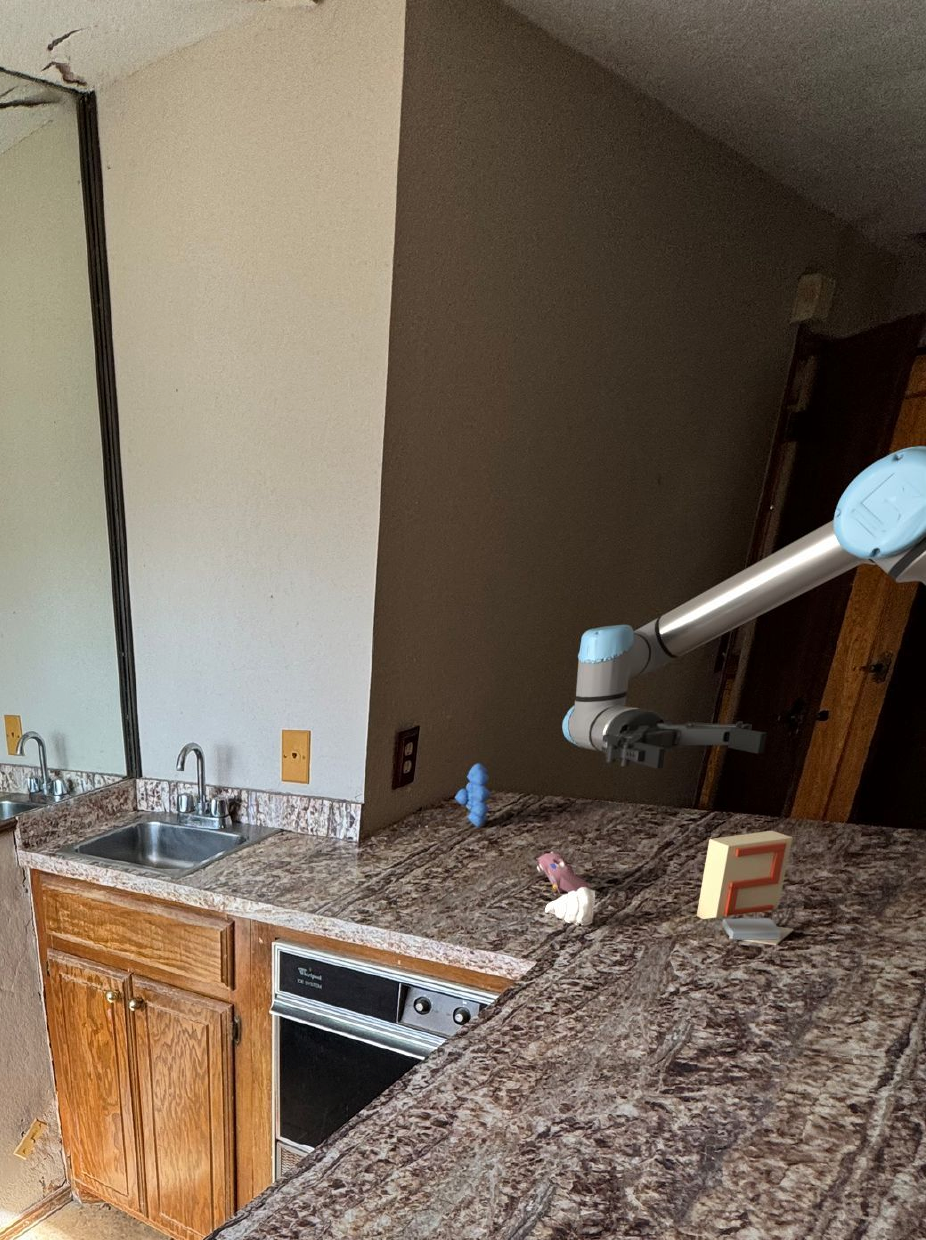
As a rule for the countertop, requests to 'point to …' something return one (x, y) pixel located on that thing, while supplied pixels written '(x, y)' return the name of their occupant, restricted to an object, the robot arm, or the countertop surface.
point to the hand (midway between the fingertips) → (711, 751)
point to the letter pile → (755, 930)
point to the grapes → (475, 795)
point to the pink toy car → (560, 873)
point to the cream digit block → (743, 874)
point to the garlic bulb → (574, 906)
